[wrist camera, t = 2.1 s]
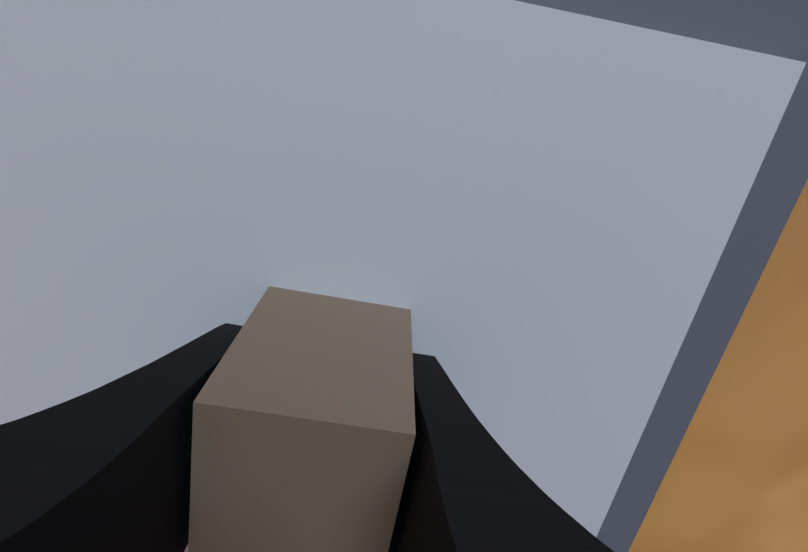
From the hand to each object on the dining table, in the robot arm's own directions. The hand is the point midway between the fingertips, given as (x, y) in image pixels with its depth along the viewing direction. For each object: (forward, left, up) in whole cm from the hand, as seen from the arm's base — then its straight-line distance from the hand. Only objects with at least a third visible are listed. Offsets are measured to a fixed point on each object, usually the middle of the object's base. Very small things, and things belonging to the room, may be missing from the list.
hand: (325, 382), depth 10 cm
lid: (0, 0, -2) cm, 2 cm away
